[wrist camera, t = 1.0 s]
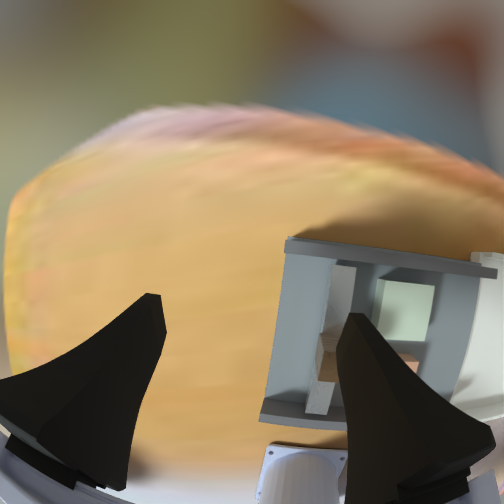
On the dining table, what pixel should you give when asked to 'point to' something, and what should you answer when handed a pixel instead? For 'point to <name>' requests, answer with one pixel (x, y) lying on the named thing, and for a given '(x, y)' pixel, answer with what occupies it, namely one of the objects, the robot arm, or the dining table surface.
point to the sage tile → (402, 309)
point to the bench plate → (368, 271)
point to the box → (484, 348)
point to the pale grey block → (330, 338)
